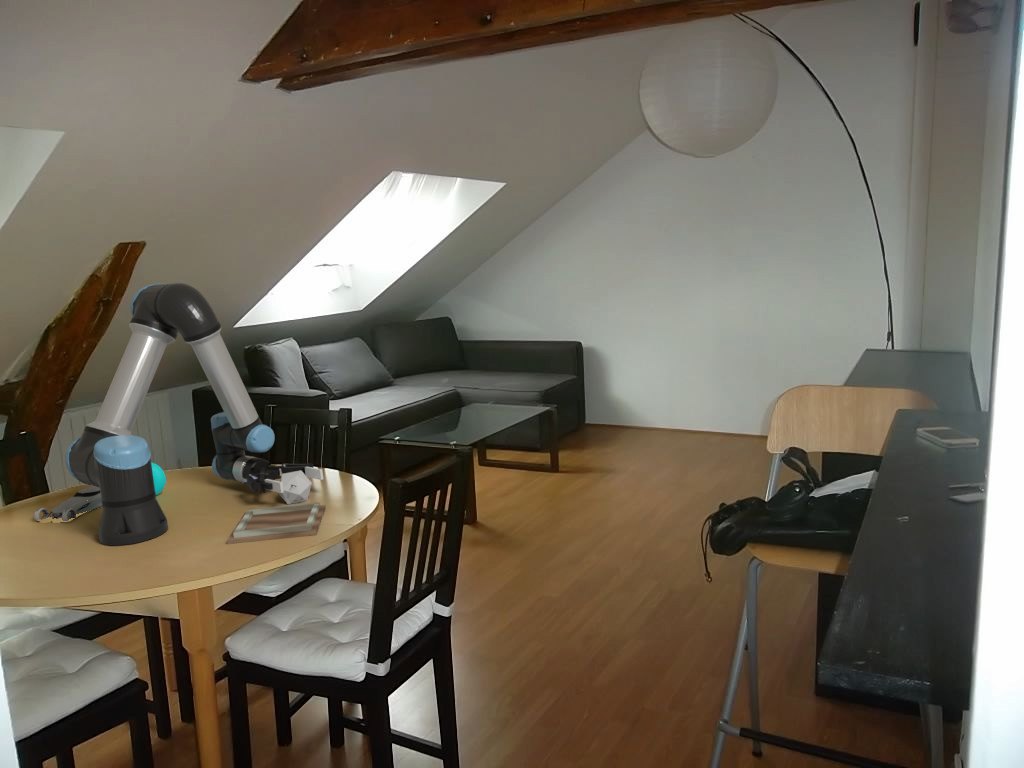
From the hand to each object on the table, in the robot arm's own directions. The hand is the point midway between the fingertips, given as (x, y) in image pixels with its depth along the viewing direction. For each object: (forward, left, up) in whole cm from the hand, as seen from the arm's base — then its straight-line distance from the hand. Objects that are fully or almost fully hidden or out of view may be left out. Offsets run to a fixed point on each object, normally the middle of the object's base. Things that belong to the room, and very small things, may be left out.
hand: (302, 481), depth 208 cm
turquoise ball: (-45, -20, -6) cm, 49 cm away
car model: (-54, -32, -7) cm, 63 cm away
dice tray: (+8, -14, -6) cm, 17 cm away
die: (-4, 0, -6) cm, 7 cm away
